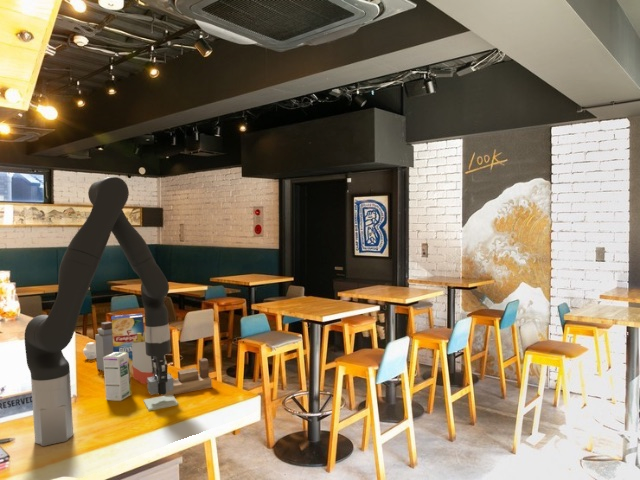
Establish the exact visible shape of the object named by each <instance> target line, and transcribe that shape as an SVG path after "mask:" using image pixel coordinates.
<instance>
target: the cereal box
mask: <svg viewBox="0 0 640 480" xmlns="http://www.w3.org/2000/svg"><path fill="white" fill-rule="evenodd" d="M111 322H112V334H113V352H128V354H129V368H130V378H132V377H133V378H134V376H133V356H132V343H134V342H133V340H134V339H135V340H136V341H137V333H141V336H143V333H145V324H144V315H143V313H142V312H140V313H131V314H119V315H112V316H111Z"/></svg>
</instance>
